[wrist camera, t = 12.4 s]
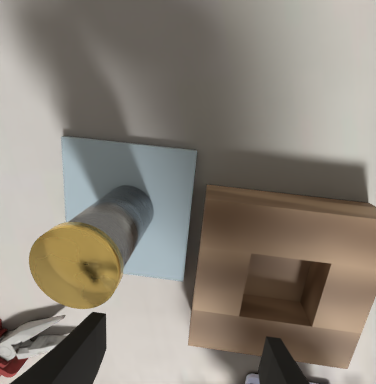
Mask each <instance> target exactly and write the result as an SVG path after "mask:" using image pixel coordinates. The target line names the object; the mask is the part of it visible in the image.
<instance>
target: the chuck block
mask: <svg viewBox="0 0 376 384" xmlns="http://www.w3.org/2000/svg"><path fill="white" fill-rule="evenodd" d="M375 297H376V207H375V206H374V205H372V204H370V203H365V202H356V201H347V200H338V199H330V198H321V197H312V196H303V195H295V194H286V193H277V192H268V191H260V190H251V189H242V188H234V187H225V186H216V185H207V187H206V196H205V204H204V212H203V220H202V228H201V236H200V245H199V253H198V261H197V269H196V277H195V285H194V293H193V302H192V310H191V320H190V330H189V341H188V345H189V346H196V347H203V348H209V349H216V350H223V351H229V352H236V353H243V354H250V355H256V356H262V352H263V348H264V343H265V339H266V336H268V337H275V338H281V340H282V341H283V343H284V344H285V346H286V348H287V349H288V351H289V352H290V354H291V356H292V357H293V359H294V360H295V361H297V362H303V363H310V364H317V365H323V366H330V367H337V368H343V369H348V366H349V364H350V361H351V358H352V356H353V353H354V351H355V348H356V346H357V343H358V340H359V338H360V335H361V333H362V330H363V328H364V325H365V322H366V320H367V317H368V315H369V312H370V309H371V307H372V304H373V302H374V299H375Z"/></svg>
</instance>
